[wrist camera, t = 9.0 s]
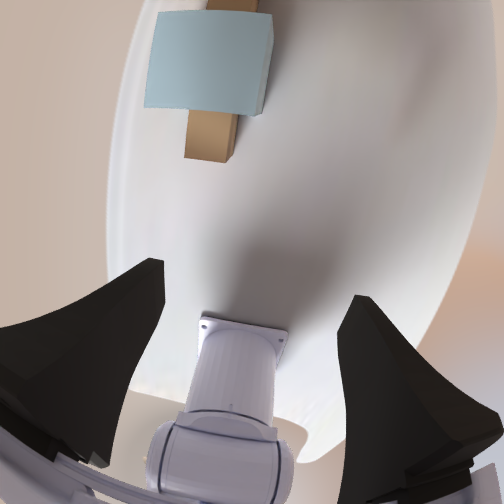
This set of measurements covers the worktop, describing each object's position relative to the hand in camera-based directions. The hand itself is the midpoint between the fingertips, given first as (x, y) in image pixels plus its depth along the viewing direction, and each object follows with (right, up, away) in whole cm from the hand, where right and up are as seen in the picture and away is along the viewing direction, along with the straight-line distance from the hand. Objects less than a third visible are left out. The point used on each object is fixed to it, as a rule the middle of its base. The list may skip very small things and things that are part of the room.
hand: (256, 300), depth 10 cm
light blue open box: (-2, +13, +4) cm, 14 cm away
